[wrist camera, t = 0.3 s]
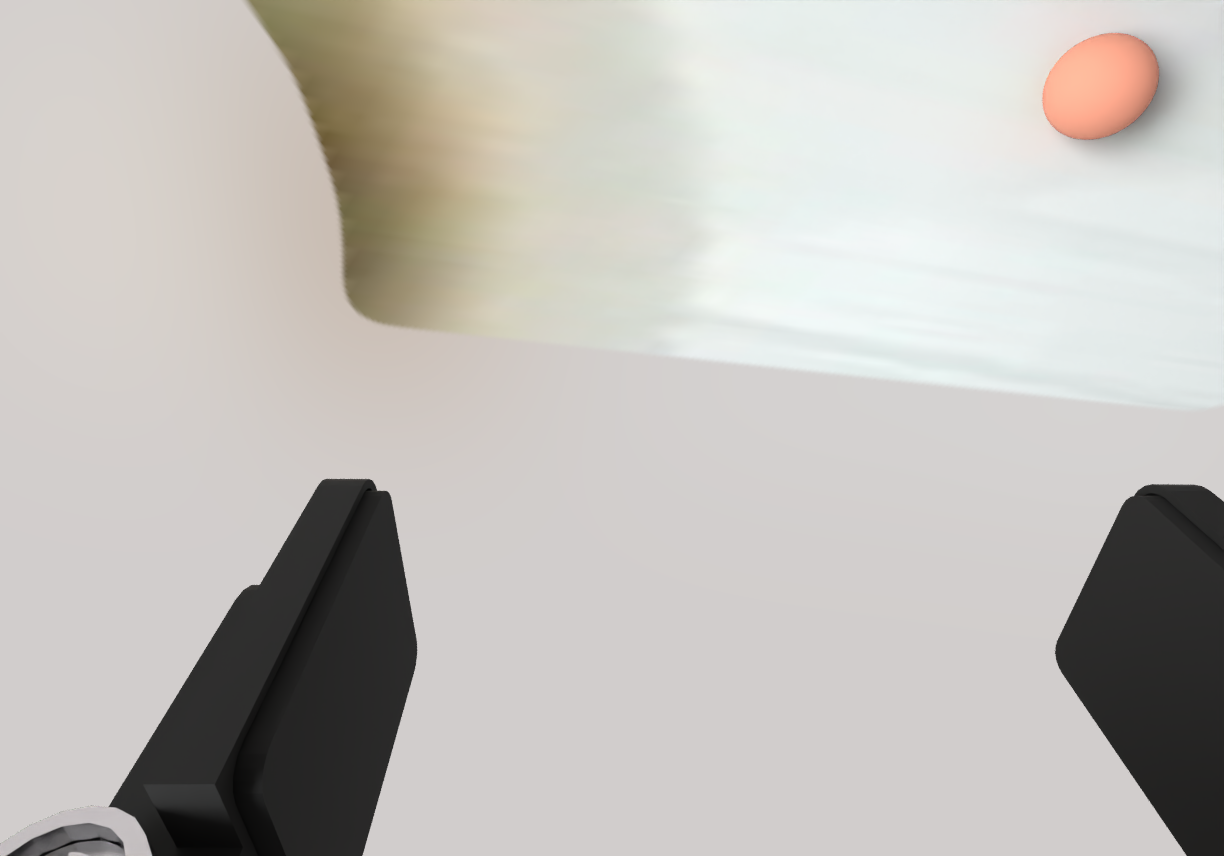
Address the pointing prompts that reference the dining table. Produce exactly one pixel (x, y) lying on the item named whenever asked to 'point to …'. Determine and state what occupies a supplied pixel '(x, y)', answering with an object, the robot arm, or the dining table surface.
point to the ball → (1100, 86)
